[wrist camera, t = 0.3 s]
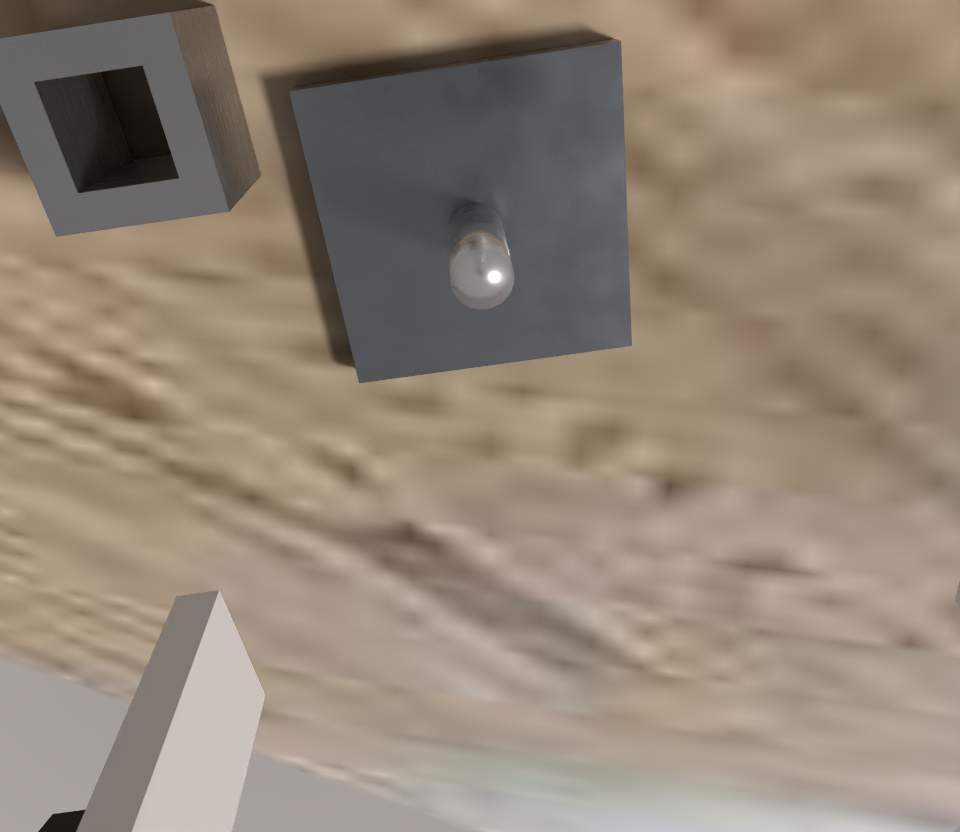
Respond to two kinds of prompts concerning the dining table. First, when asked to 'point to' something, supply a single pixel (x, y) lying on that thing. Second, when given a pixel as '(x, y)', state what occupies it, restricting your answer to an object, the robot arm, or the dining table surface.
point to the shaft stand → (474, 208)
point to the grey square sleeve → (98, 134)
